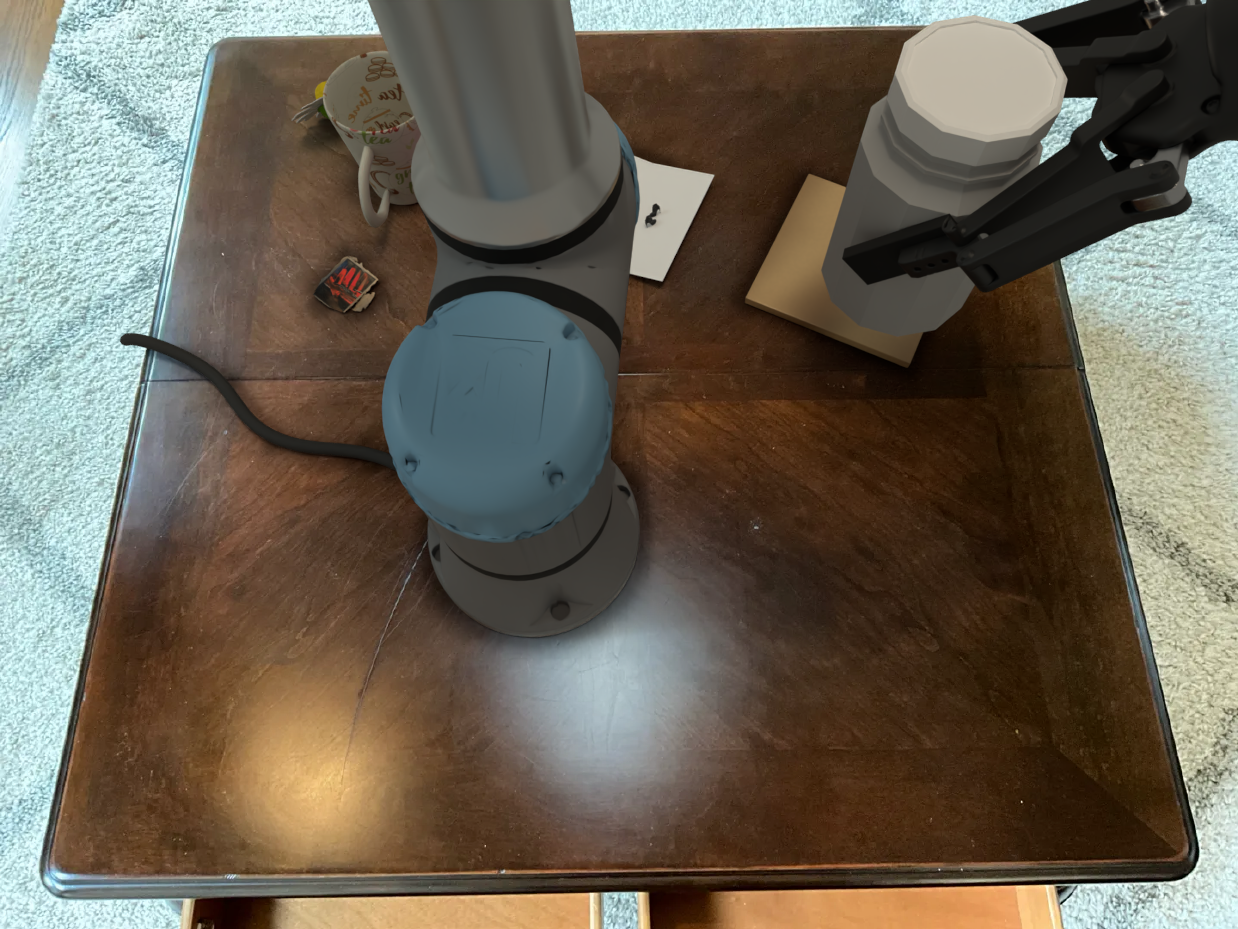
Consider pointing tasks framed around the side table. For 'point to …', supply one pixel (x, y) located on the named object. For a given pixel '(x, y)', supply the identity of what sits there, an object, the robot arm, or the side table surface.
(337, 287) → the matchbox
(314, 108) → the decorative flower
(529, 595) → the robot arm
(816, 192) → the cork mat
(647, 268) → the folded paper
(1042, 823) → the side table surface
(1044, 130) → the jar
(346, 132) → the mug
